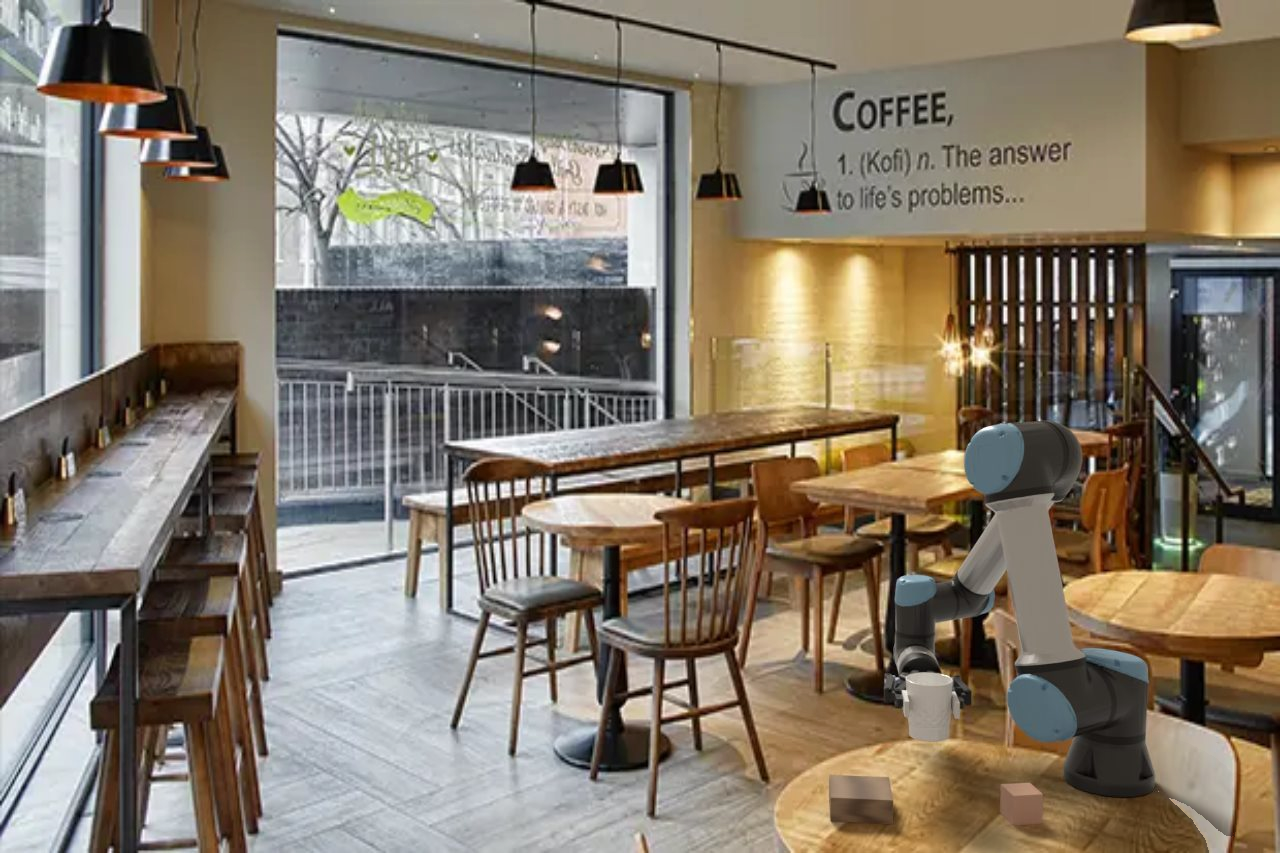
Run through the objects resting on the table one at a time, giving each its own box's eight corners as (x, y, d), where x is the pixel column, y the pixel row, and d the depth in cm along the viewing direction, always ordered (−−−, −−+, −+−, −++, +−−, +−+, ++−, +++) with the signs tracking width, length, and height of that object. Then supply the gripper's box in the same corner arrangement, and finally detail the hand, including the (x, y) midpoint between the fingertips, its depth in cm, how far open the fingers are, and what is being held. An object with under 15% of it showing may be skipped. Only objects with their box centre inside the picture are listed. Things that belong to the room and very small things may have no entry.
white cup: (953, 744, 214) (953, 686, 213) (905, 742, 215) (905, 684, 214) (951, 729, 221) (952, 673, 220) (905, 727, 223) (905, 671, 222)
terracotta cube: (1028, 811, 211) (1029, 782, 211) (1042, 823, 206) (1043, 794, 206) (999, 813, 211) (1000, 784, 210) (1012, 825, 206) (1013, 796, 205)
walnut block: (888, 800, 216) (888, 777, 216) (892, 824, 206) (893, 800, 206) (828, 797, 217) (829, 774, 217) (830, 821, 207) (830, 797, 207)
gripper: (975, 693, 235) (994, 733, 212) (863, 690, 237) (870, 730, 215) (976, 653, 234) (995, 689, 211) (863, 650, 236) (870, 686, 214)
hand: (932, 710), depth 213 cm, fingers closed on white cup, 7 cm apart
